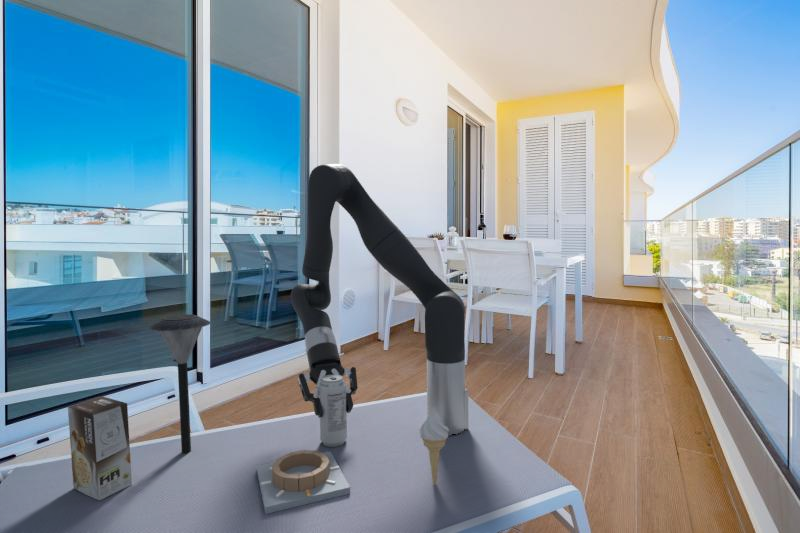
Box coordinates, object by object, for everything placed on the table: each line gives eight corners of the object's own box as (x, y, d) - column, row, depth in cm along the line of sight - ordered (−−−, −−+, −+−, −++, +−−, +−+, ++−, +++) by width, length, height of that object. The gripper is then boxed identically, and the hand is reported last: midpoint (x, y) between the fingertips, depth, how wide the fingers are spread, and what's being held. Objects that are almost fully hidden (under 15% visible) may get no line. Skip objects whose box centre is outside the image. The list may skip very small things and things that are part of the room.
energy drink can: (340, 433, 107) (338, 372, 106) (351, 443, 102) (350, 378, 101) (316, 440, 103) (314, 376, 102) (327, 450, 98) (325, 383, 97)
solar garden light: (216, 458, 95) (210, 319, 93) (151, 470, 91) (143, 324, 89) (216, 435, 107) (211, 310, 105) (158, 444, 102) (151, 314, 100)
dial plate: (330, 456, 96) (329, 439, 95) (350, 493, 82) (349, 473, 82) (256, 471, 90) (256, 453, 90) (265, 514, 76) (264, 493, 76)
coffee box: (134, 484, 86) (129, 402, 85) (98, 502, 80) (93, 414, 79) (106, 473, 90) (101, 395, 89) (70, 489, 84) (65, 406, 83)
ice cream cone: (429, 495, 81) (429, 414, 80) (414, 480, 86) (413, 404, 85) (455, 487, 83) (454, 408, 82) (439, 473, 88) (438, 399, 87)
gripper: (294, 344, 105) (305, 411, 95) (352, 338, 111) (369, 401, 101) (290, 360, 110) (301, 426, 100) (347, 354, 116) (362, 415, 106)
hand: (335, 413), depth 100 cm, fingers closed on energy drink can, 6 cm apart
